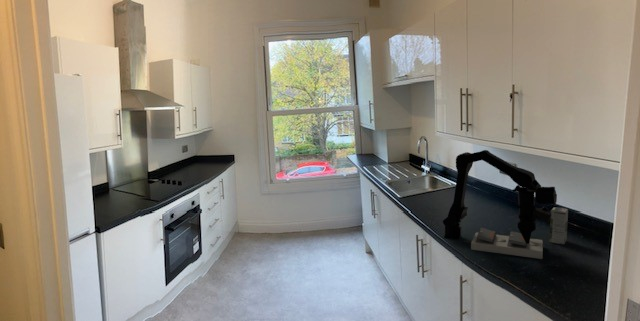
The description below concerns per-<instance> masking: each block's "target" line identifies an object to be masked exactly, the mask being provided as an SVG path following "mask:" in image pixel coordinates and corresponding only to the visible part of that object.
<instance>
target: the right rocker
mask: <svg viewBox="0 0 640 321" xmlns="http://www.w3.org/2000/svg"><path fill="white" fill-rule="evenodd" d="M509 236H510V237H509V242H510V243H514V244H519V245H524V246H525V244H526V242H525V240H524V238H523V236H522V234H521V233H520V232H516V231H510V233H509Z"/></svg>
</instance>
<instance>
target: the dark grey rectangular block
mask: <svg viewBox="0 0 640 321" xmlns="http://www.w3.org/2000/svg"><path fill="white" fill-rule="evenodd" d="M477 233H478V235H477V238H479V239H483V240H486V241H489V242H492V241H493V238H494V235H496V234H495V233H496V231H494V230H492V229H487V228H485V227H480V229H479V231H478V232H477Z"/></svg>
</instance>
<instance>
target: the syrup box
mask: <svg viewBox="0 0 640 321" xmlns="http://www.w3.org/2000/svg"><path fill="white" fill-rule="evenodd" d="M550 212H551V214H552V215H551V218H550V220H549V222H550V223H549V237H548V238H549V241H548V242H549V243H551V244H558V245H565V244H566V243H567V236H568V218H569V209H568V208H565V207H559V206H558V207H555V206H554V207H553V208H552V209H551V210H550Z"/></svg>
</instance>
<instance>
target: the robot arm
mask: <svg viewBox="0 0 640 321" xmlns="http://www.w3.org/2000/svg"><path fill="white" fill-rule="evenodd" d="M479 161H484V162H485V163H486V164H489V165H490V166H492V167H494V168H495V169H497V170H499V171H500V172H502V173H504V174H505V175H507V176H508V177H509V178H510V179H511V180H512V181H513V182H514V183H515V184H517V185H516V186H515V187H514V188H513V189H512V192H515V193H516V192H517V193H518V194H517V199H518V221H517V230H518V231H519V233H521V234H522V236H523V238H524V240H525V242H526V243H527V244H529V242H530V239H531V237H532V236H531V235H532V232H535V231H536V230H537V229H536V228H537V225H536V224H537V222H536V221H537V219H539V220H542V221H544V222H546V223H549V222H550V219H551V215H552V214H551V210H550V211H549V209H548V207H546V206H542V207H540V208H539V207H537V205H536V203H535V201H536V202H537V203H538V204H544V205H557V200H558V197H557V196H558V194H557V190H556V187H555V186H542V184H540V182H539V181H537V179H536V177H535V174H534V173H533V172H532V171H530V170H527V169H525V168H521V167H518V166H515V165H513V164H511V163H510V162H507V161H506V160H504V159H502V158H500V157H499V156H498V155H495V154H493V152H492V153H491V151H489V150H487V149H483V150H481V151H477V152H472V153H471V152H468V151H467V152H466V151H465V152H463V153H460V154H458V155H457V156H456V158H455V168H456V172H457V174H456V180H455V189H454V196H453V202H452V204H451V206H450V207H449V211H448V214H447V217H446V218H445V219H443V220H442V223H443V226H444V236H443V238H444V239H452V240H459V239H460V238H461V237H462V226H461V222H462V221H463V220H464V219H465V218H466V217H467V216H468V214H467V211H468V209H469V206H466V205H465V197H466V191H467V184H468V178H469V172H470V171H471V168H473V164H474V163H475V162H479Z"/></svg>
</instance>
